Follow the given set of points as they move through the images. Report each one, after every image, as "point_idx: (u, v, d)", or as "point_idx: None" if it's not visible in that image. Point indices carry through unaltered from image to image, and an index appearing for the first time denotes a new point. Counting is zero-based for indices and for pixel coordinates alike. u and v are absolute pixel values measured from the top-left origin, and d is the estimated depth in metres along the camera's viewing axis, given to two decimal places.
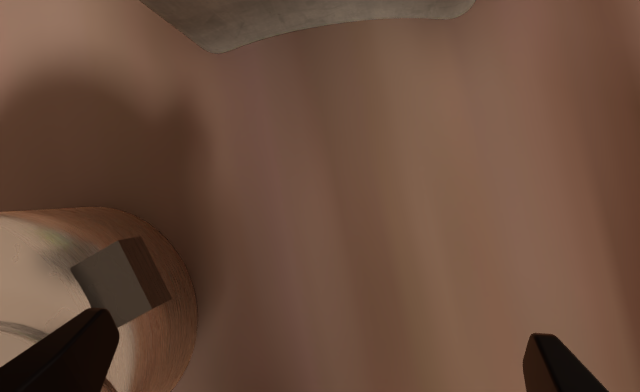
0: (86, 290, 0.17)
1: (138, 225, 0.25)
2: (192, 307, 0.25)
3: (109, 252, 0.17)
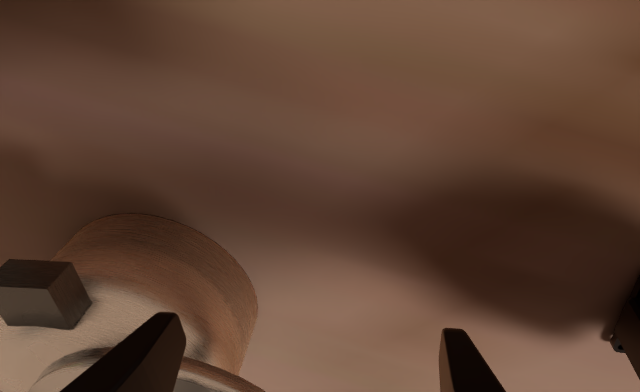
0: (28, 324, 0.19)
1: (77, 234, 0.26)
2: (168, 226, 0.25)
3: None
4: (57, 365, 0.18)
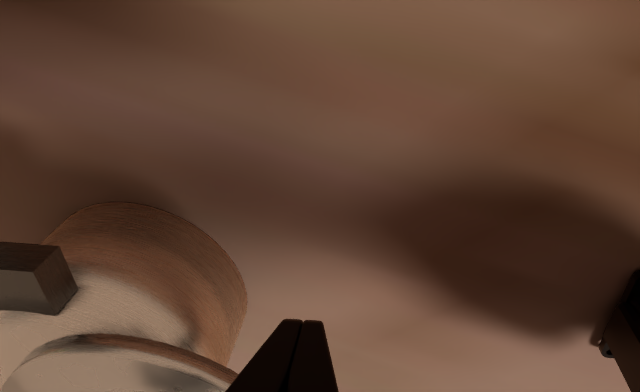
0: (11, 308, 0.18)
1: (66, 221, 0.25)
2: (159, 216, 0.25)
3: None
4: (40, 351, 0.17)
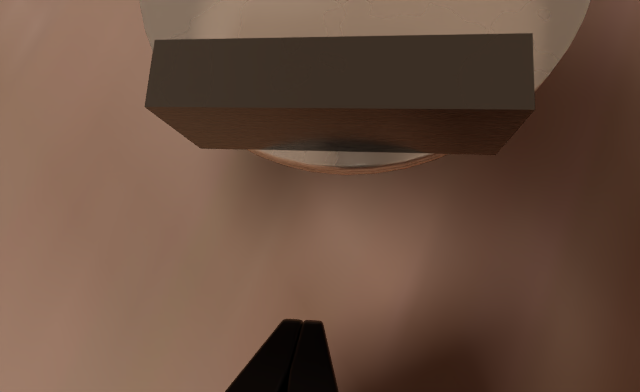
0: None
1: None
2: None
3: None
4: None
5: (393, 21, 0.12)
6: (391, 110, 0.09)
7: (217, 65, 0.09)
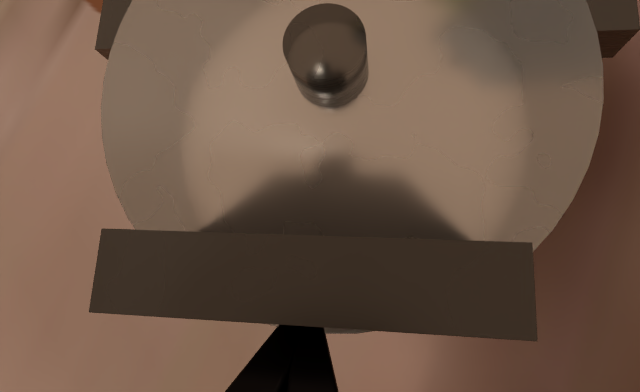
0: None
1: None
2: None
3: None
4: None
5: (377, 163, 0.11)
6: (369, 329, 0.08)
7: (171, 264, 0.08)
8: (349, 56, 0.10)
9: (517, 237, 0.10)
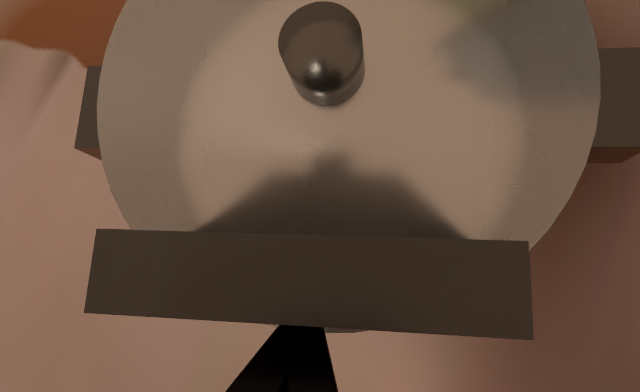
0: None
1: None
2: None
3: (619, 56, 0.13)
4: None
5: (373, 161, 0.11)
6: (365, 329, 0.08)
7: (166, 264, 0.08)
8: (345, 54, 0.10)
9: (515, 235, 0.10)
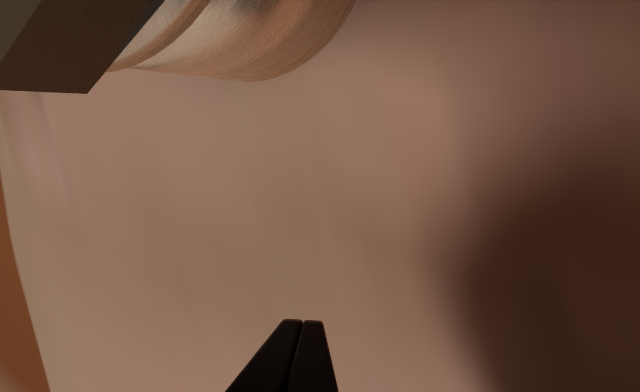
0: None
1: None
2: None
3: None
4: None
5: None
6: None
7: None
8: None
9: None
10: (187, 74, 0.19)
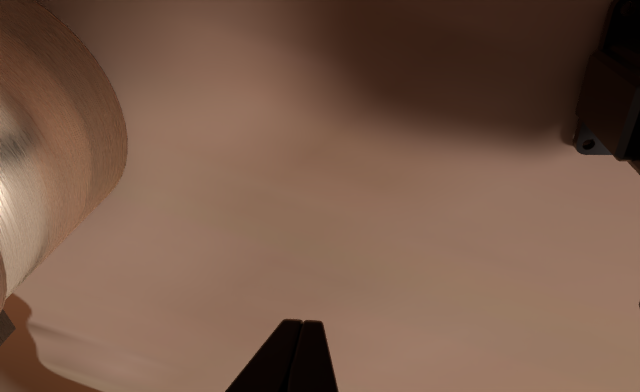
0: None
1: None
2: None
3: None
4: None
5: None
6: None
7: None
8: None
9: None
10: (69, 227, 0.20)
